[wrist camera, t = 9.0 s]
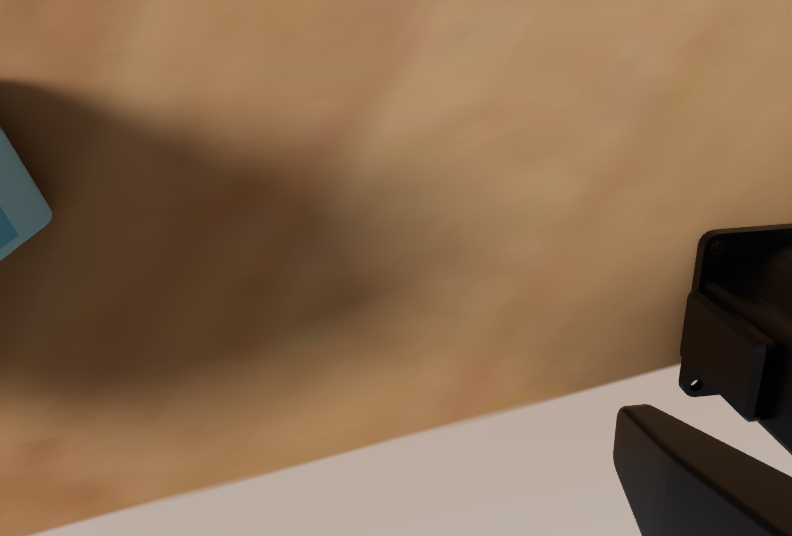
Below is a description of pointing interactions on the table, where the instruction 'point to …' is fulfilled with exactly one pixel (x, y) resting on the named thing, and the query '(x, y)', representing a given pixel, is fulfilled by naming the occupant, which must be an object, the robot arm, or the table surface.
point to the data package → (18, 201)
